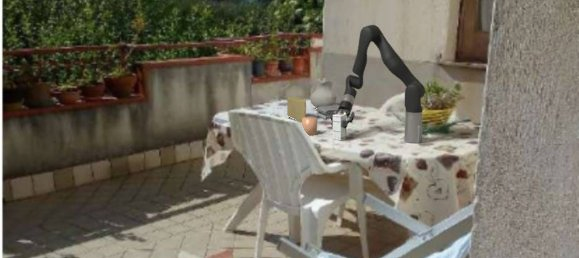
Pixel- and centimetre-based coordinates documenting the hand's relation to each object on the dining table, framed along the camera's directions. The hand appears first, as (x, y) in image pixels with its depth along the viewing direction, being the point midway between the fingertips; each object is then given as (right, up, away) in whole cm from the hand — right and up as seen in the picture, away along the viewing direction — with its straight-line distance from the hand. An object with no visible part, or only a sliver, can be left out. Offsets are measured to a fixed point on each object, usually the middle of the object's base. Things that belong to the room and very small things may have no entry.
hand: (338, 126), depth 330 cm
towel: (+1, +6, +70) cm, 70 cm away
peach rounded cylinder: (-16, -4, +16) cm, 23 cm away
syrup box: (+1, -7, +3) cm, 8 cm away
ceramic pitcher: (-3, +13, +102) cm, 103 cm away
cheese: (-22, +4, +59) cm, 63 cm away
